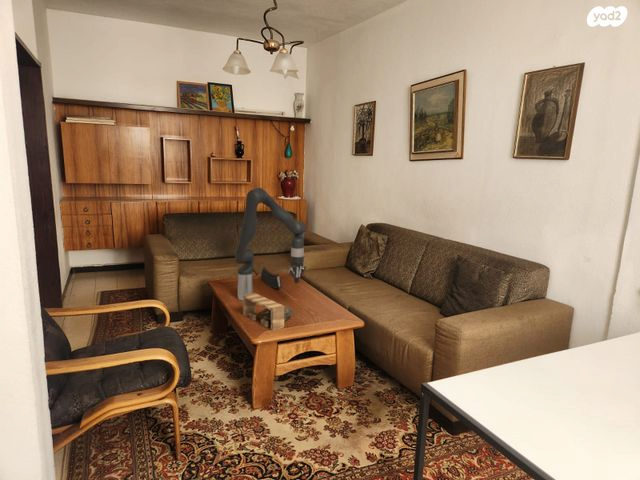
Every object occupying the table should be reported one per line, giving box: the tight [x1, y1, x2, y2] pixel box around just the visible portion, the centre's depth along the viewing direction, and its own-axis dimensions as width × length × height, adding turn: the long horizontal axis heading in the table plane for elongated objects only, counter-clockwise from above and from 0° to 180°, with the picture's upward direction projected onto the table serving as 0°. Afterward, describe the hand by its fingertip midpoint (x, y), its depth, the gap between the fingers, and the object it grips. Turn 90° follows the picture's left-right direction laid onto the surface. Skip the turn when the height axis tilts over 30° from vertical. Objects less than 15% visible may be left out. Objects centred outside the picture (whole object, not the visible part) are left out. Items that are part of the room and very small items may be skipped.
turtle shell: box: [257, 305, 294, 323], centre depth 234 cm, size 16×9×20 cm
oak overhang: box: [242, 292, 285, 332], centre depth 229 cm, size 29×8×12 cm, turn 43°
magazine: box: [260, 266, 283, 291], centre depth 295 cm, size 17×3×30 cm
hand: (296, 283), depth 244 cm, fingers closed
